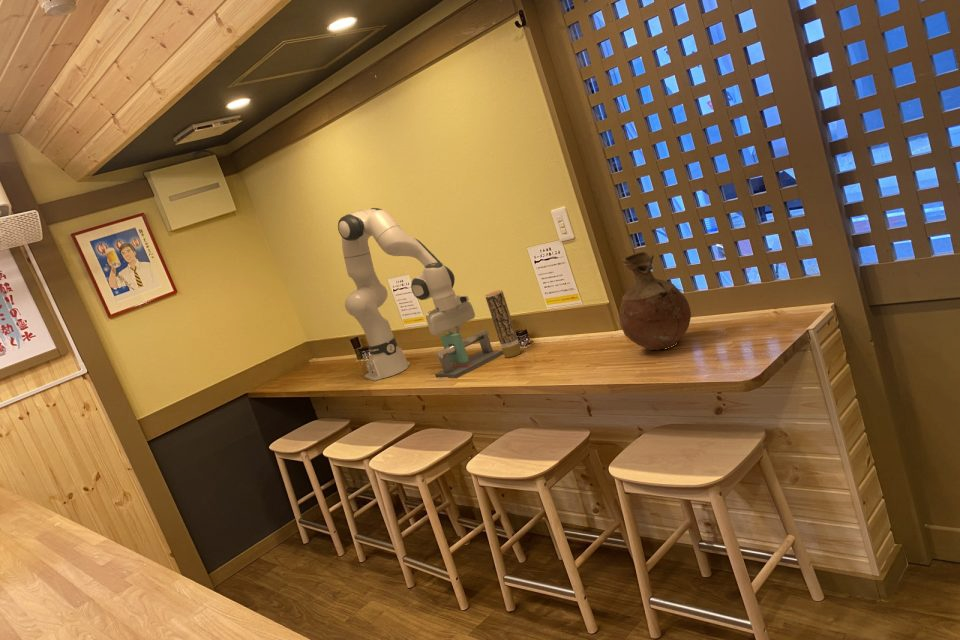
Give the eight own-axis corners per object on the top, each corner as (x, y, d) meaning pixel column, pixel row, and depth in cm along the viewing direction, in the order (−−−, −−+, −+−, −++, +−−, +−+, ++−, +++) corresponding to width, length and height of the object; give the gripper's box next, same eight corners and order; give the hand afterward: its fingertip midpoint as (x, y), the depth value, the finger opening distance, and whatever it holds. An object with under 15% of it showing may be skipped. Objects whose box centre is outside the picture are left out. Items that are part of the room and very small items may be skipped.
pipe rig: (442, 374, 275) (434, 351, 274) (488, 350, 289) (481, 329, 287) (447, 374, 272) (440, 351, 270) (494, 350, 286) (487, 328, 284)
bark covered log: (520, 355, 272) (500, 292, 267) (503, 359, 273) (483, 297, 269) (522, 350, 278) (503, 288, 274) (506, 354, 280) (486, 293, 275)
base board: (436, 377, 279) (434, 373, 279) (482, 354, 293) (481, 350, 293) (456, 378, 268) (455, 374, 268) (503, 354, 282) (502, 350, 282)
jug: (648, 364, 214) (620, 267, 208) (617, 353, 235) (591, 265, 229) (711, 339, 218) (686, 243, 213) (675, 330, 239) (651, 243, 233)
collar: (448, 362, 281) (439, 336, 279) (452, 360, 283) (443, 334, 281) (465, 362, 273) (456, 335, 271) (469, 360, 274) (460, 333, 272)
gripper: (429, 313, 267) (441, 348, 269) (471, 294, 278) (481, 328, 281) (420, 313, 272) (431, 348, 274) (461, 295, 284) (472, 328, 286)
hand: (457, 338), depth 278 cm, fingers closed
